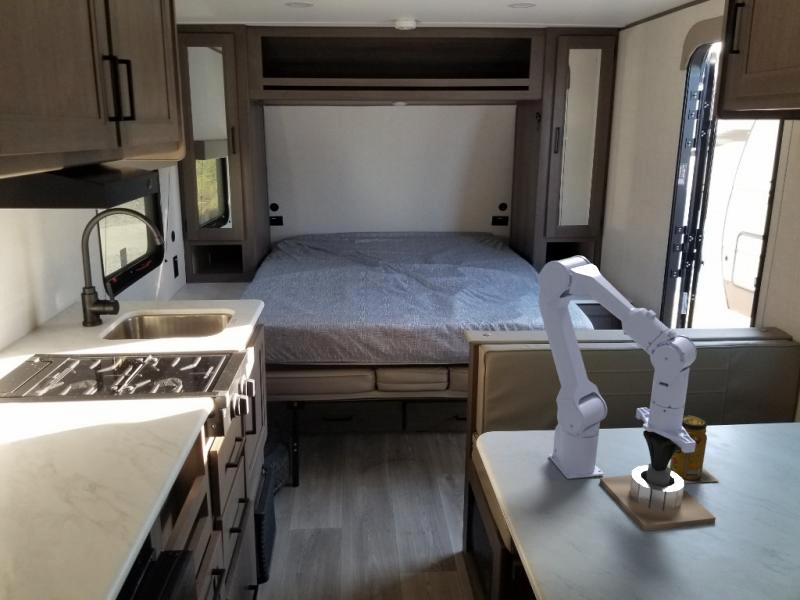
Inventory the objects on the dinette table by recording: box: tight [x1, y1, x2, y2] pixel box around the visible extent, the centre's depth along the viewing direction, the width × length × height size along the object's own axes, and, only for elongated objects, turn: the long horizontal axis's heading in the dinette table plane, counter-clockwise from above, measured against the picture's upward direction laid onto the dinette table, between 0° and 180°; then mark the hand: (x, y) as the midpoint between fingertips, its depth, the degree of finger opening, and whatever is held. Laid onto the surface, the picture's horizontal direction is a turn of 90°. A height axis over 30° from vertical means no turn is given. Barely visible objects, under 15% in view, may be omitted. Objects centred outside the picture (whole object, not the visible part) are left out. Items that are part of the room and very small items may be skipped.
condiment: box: [668, 415, 720, 484], centre depth 129 cm, size 7×8×12 cm
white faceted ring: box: [630, 465, 685, 511], centre depth 120 cm, size 9×9×4 cm
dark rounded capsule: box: [646, 462, 671, 487], centre depth 120 cm, size 4×4×6 cm
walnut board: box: [599, 474, 717, 532], centre depth 120 cm, size 16×14×1 cm
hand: (658, 469), depth 119 cm, fingers closed, pressing on dark rounded capsule
